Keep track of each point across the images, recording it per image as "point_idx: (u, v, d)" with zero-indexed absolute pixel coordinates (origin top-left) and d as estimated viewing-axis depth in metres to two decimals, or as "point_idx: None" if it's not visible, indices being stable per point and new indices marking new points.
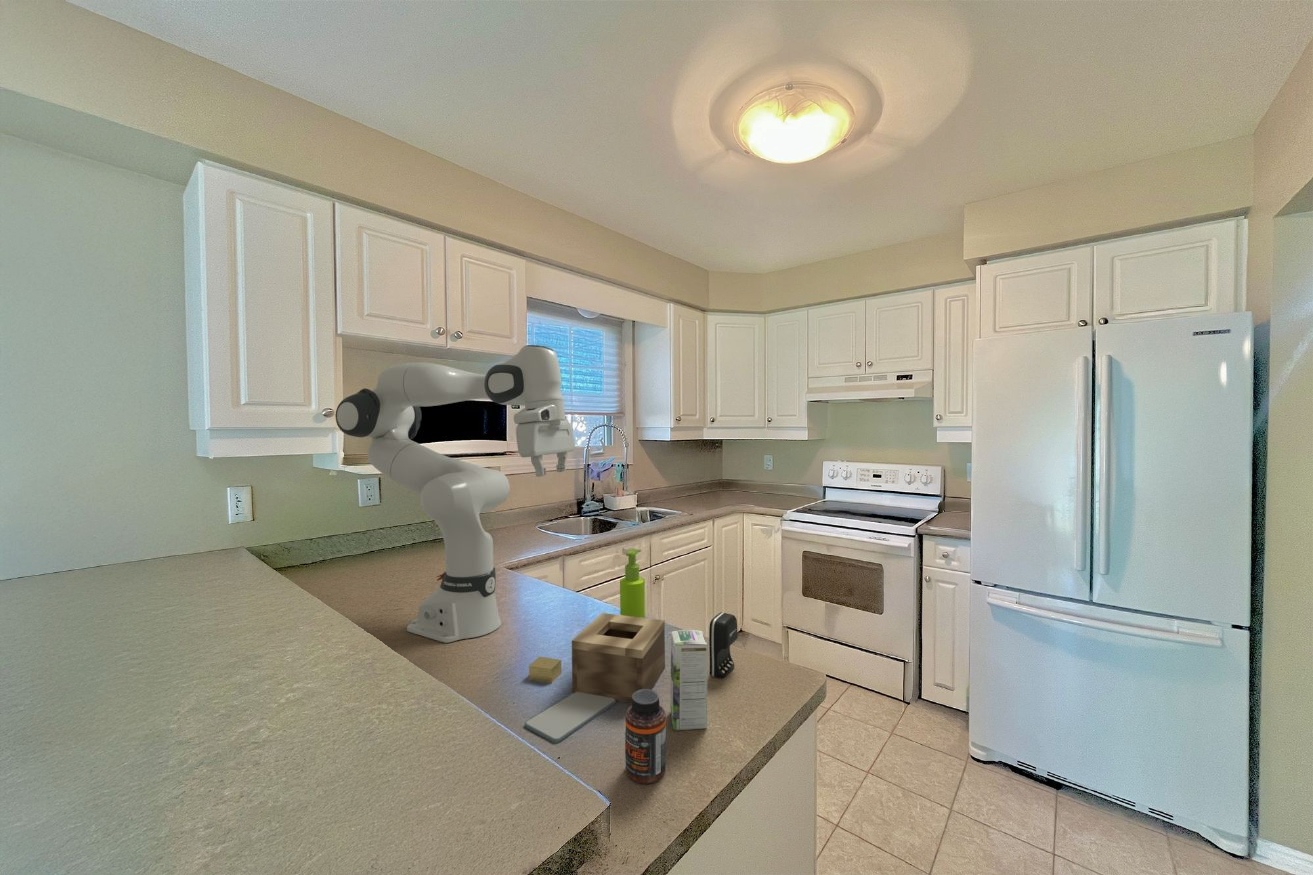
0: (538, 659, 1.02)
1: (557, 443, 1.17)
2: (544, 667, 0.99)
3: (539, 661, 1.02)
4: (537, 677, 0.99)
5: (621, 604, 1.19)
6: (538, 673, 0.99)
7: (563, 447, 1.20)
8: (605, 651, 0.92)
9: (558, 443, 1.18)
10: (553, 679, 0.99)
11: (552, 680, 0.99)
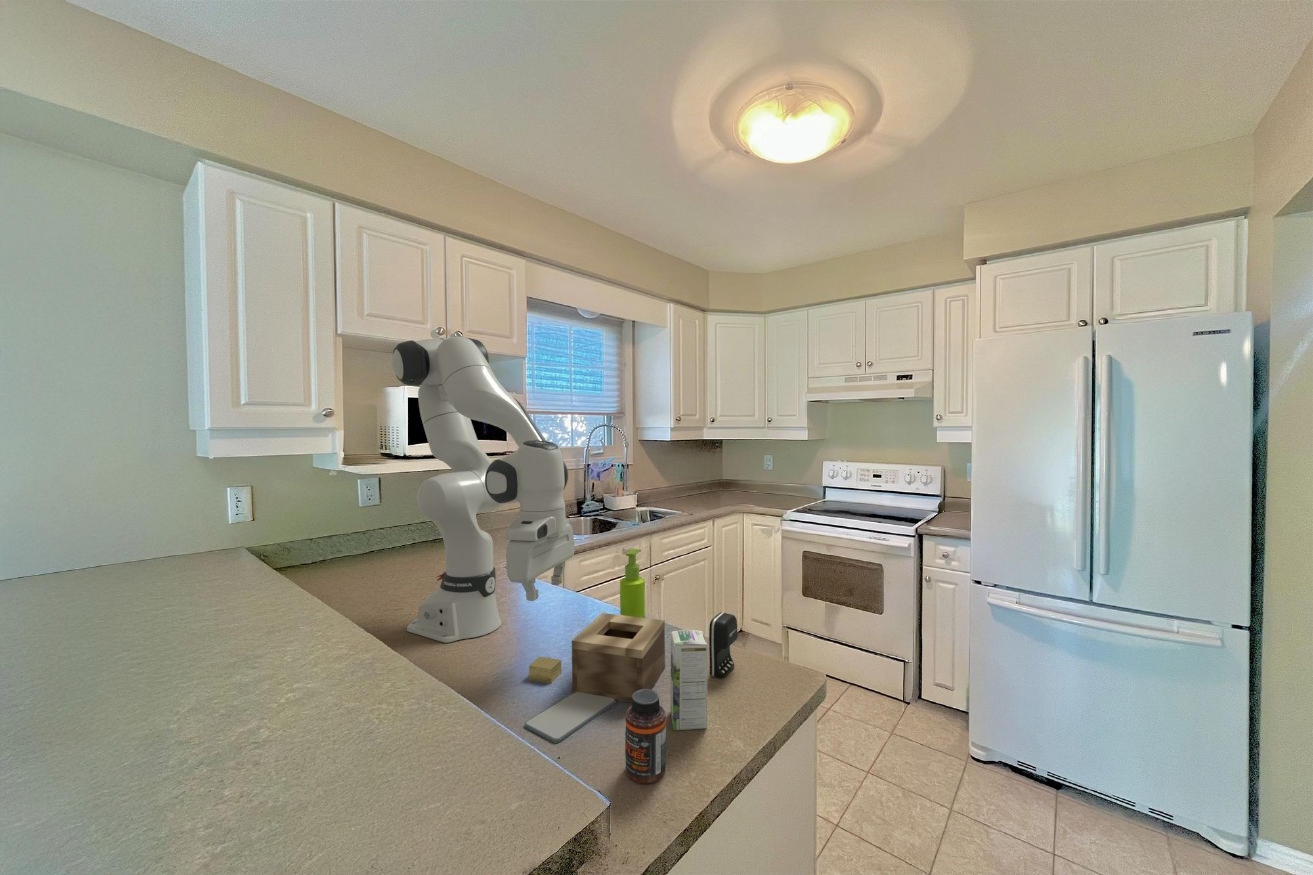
0: (538, 659, 1.02)
1: (554, 557, 1.00)
2: (544, 667, 0.99)
3: (539, 661, 1.02)
4: (537, 677, 0.99)
5: (621, 604, 1.19)
6: (538, 673, 0.99)
7: (561, 558, 1.03)
8: (605, 651, 0.92)
9: (556, 555, 1.01)
10: (553, 679, 0.99)
11: (552, 680, 0.99)
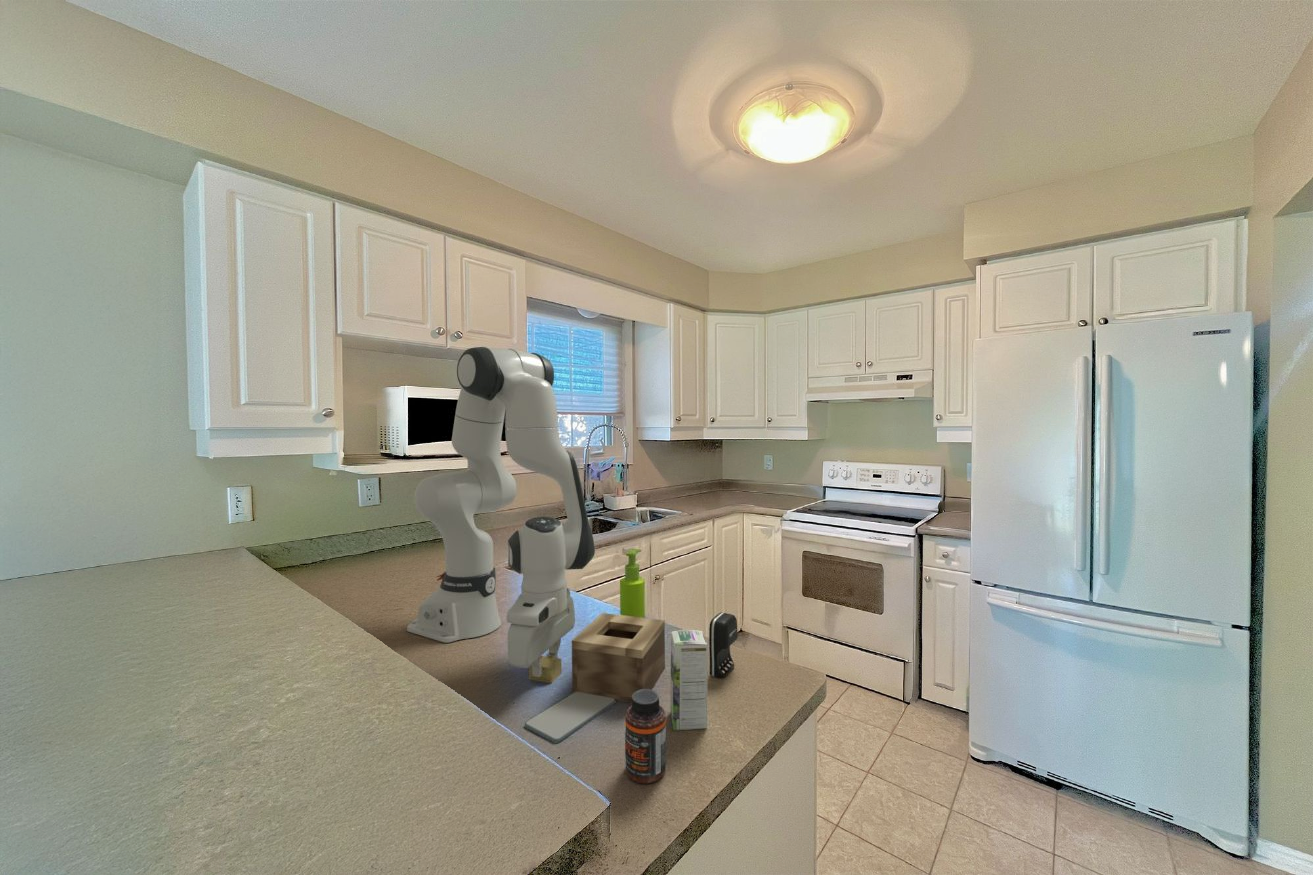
0: None
1: (554, 634, 1.01)
2: (544, 666, 0.99)
3: None
4: None
5: (621, 604, 1.19)
6: None
7: (562, 633, 1.04)
8: (605, 651, 0.92)
9: (556, 632, 1.02)
10: (553, 678, 0.99)
11: (552, 679, 0.99)
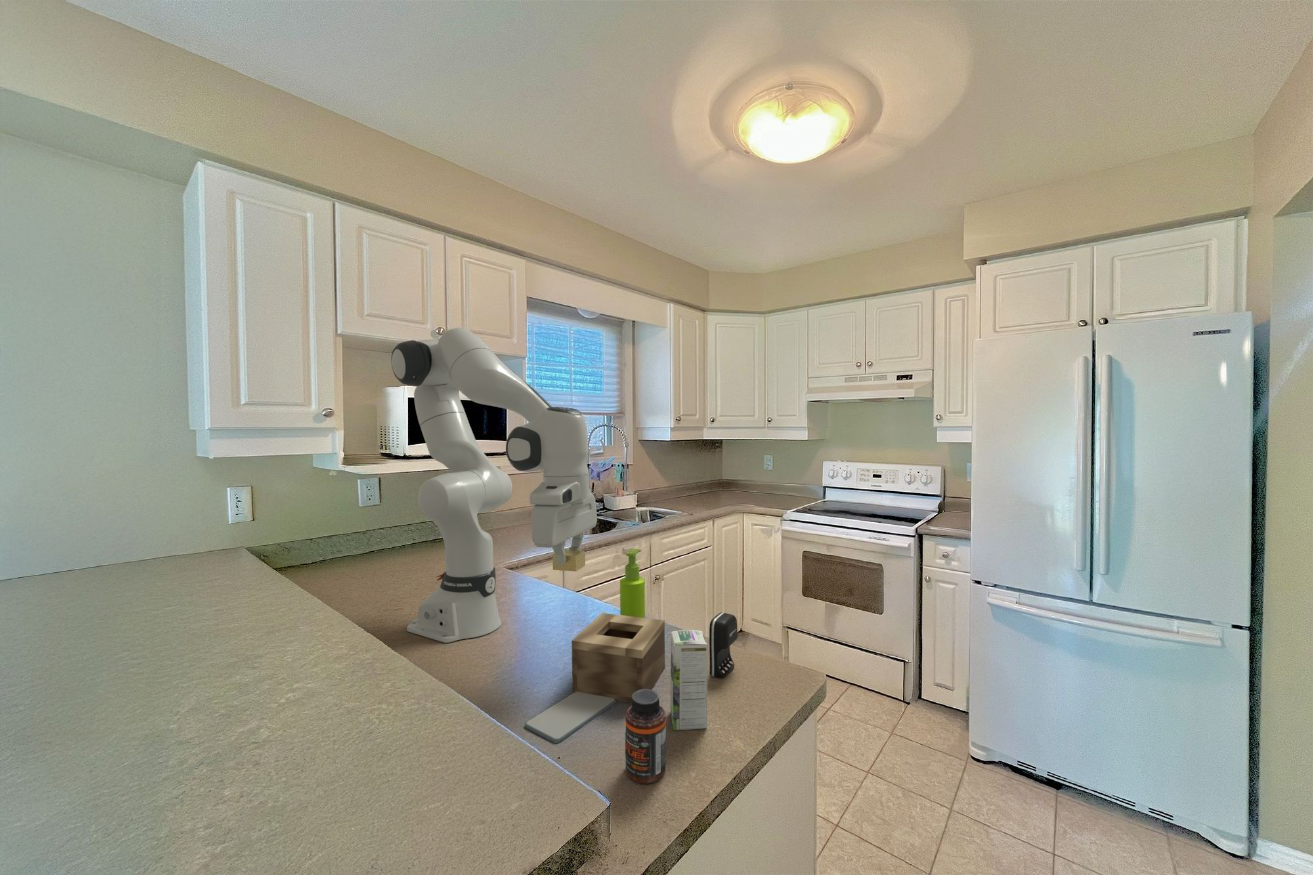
0: None
1: (577, 524, 0.99)
2: (568, 555, 0.97)
3: None
4: (561, 565, 0.98)
5: (621, 604, 1.19)
6: None
7: (584, 526, 1.02)
8: (605, 651, 0.92)
9: (579, 523, 1.00)
10: (577, 567, 0.97)
11: (576, 568, 0.97)
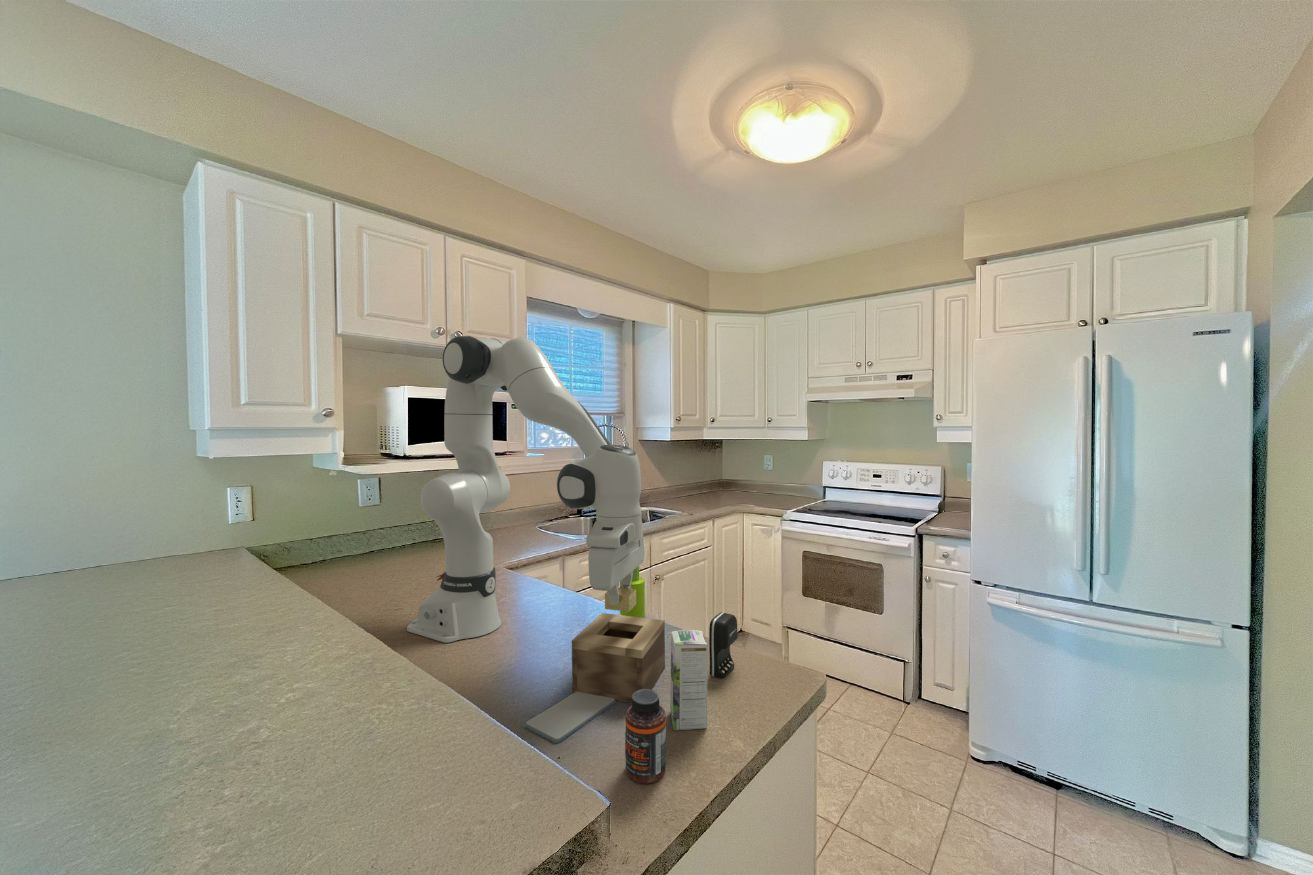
0: None
1: (629, 563, 0.99)
2: (621, 595, 0.97)
3: None
4: (613, 605, 0.97)
5: None
6: None
7: (635, 564, 1.02)
8: (605, 651, 0.92)
9: (631, 561, 0.99)
10: (630, 607, 0.97)
11: (629, 607, 0.96)
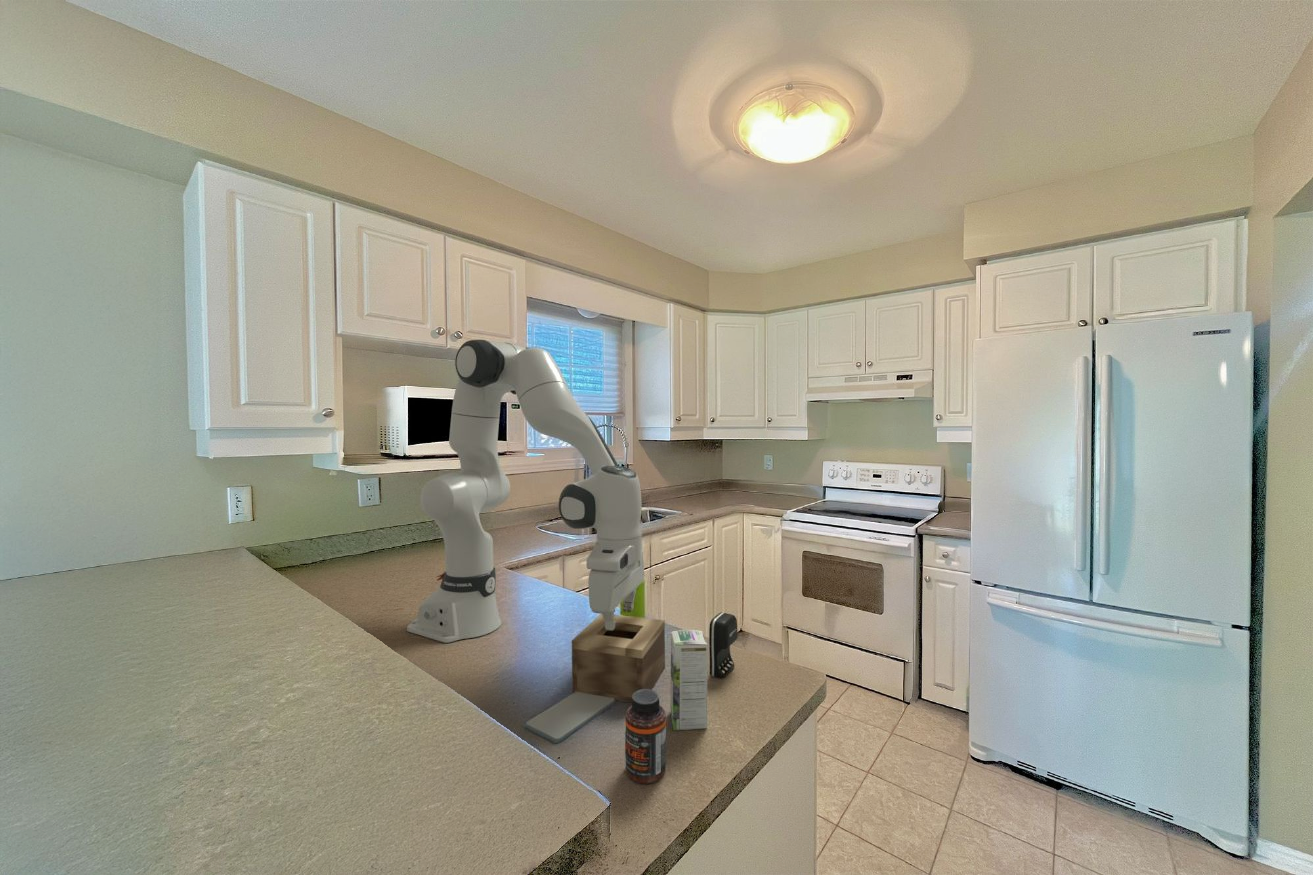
0: None
1: (629, 584, 0.99)
2: None
3: None
4: None
5: (621, 604, 1.19)
6: None
7: (634, 585, 1.02)
8: (605, 651, 0.92)
9: (631, 582, 1.00)
10: None
11: None
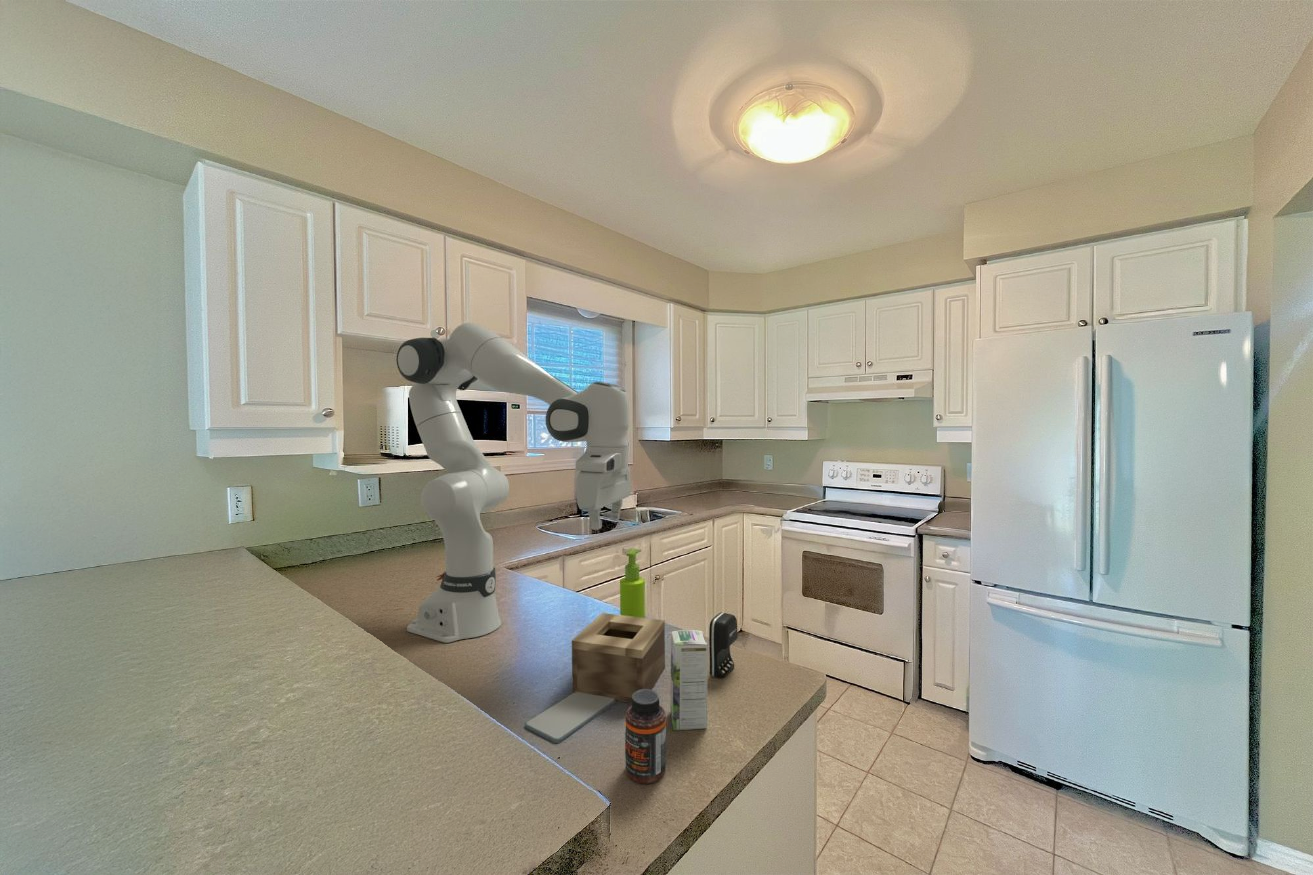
0: None
1: (615, 492, 1.07)
2: None
3: None
4: None
5: (621, 604, 1.19)
6: None
7: (621, 495, 1.10)
8: (605, 651, 0.92)
9: (617, 491, 1.08)
10: None
11: None
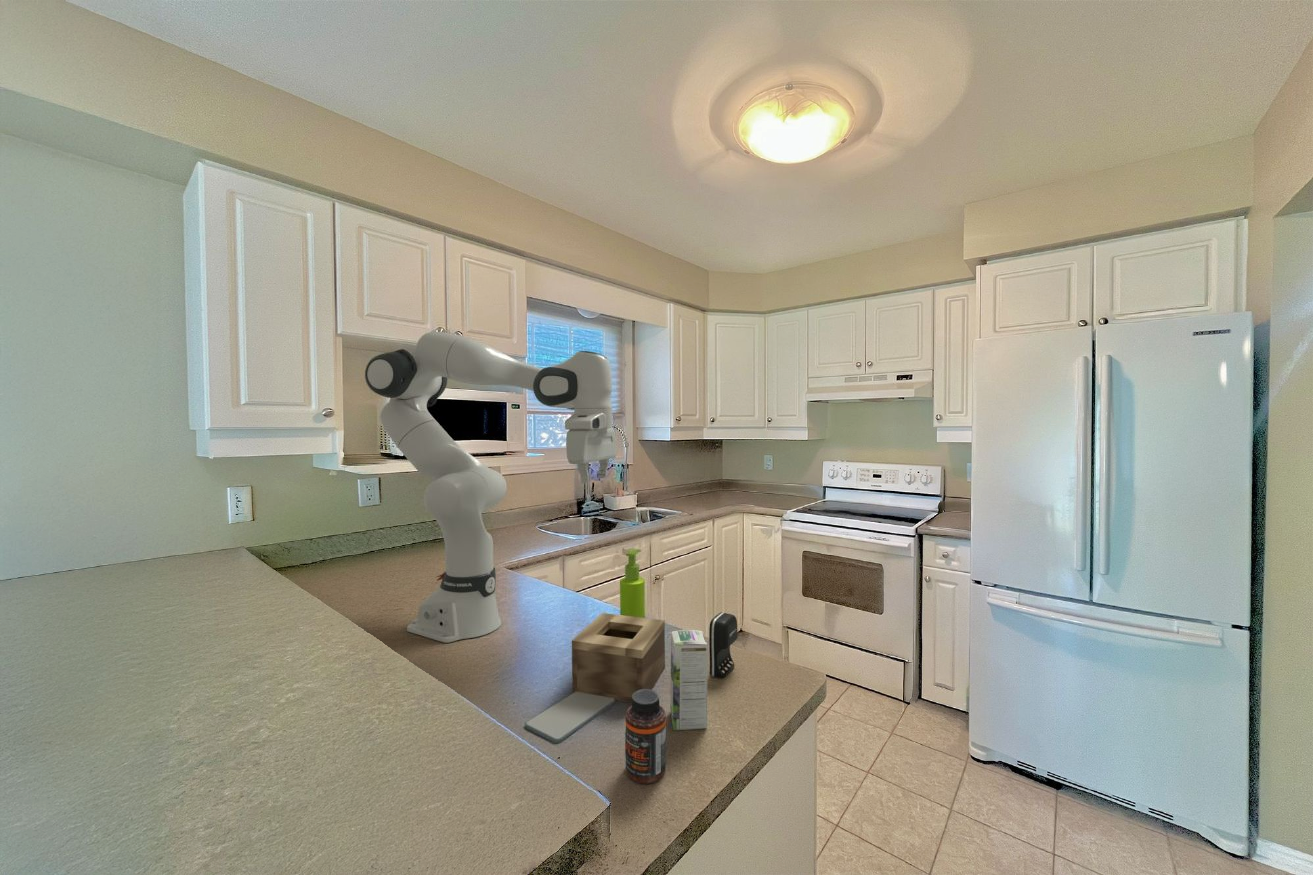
0: None
1: (602, 451, 1.18)
2: None
3: None
4: None
5: (621, 604, 1.19)
6: None
7: (607, 454, 1.21)
8: (605, 651, 0.92)
9: (603, 450, 1.19)
10: None
11: None
